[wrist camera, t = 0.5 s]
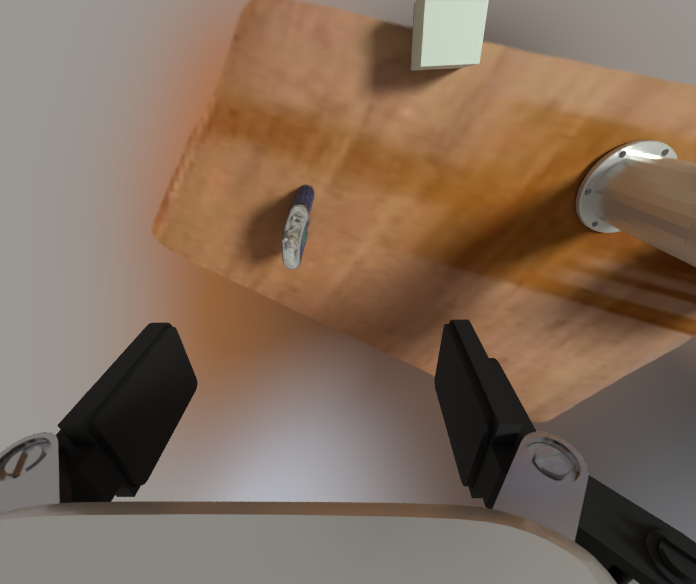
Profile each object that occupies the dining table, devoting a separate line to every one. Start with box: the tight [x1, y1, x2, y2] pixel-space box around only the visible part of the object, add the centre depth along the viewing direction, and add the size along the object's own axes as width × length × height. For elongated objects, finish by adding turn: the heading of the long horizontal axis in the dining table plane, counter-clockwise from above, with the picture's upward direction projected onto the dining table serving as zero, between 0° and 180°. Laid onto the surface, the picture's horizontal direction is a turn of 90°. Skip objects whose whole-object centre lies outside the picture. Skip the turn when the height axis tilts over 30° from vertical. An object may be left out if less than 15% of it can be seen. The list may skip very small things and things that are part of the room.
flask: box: [282, 185, 315, 269], centre depth 42 cm, size 9×3×11 cm, turn 166°
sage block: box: [411, 0, 489, 71], centre depth 33 cm, size 6×6×6 cm
